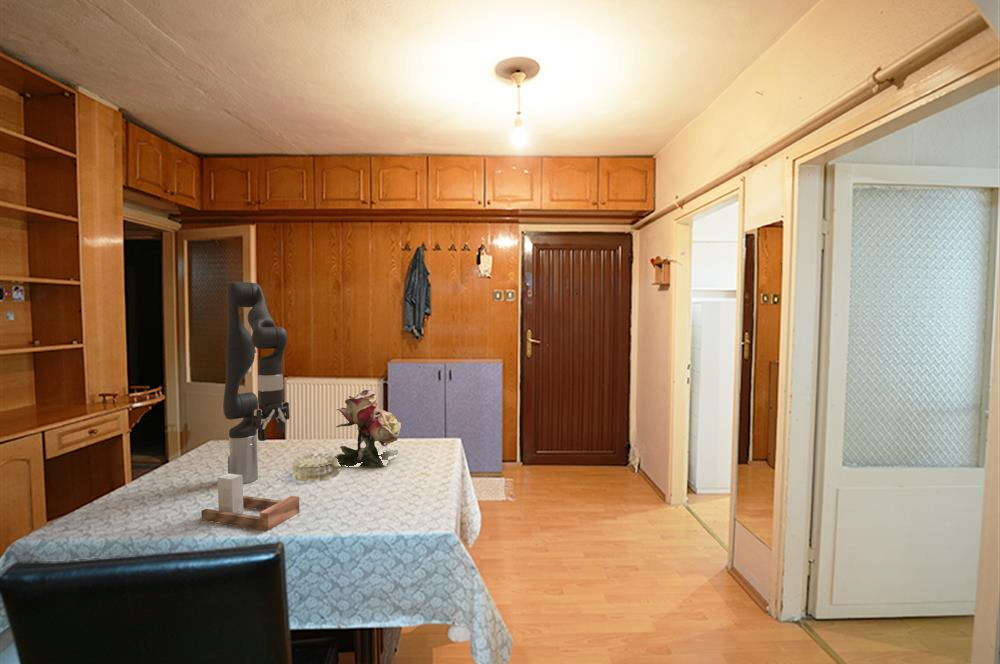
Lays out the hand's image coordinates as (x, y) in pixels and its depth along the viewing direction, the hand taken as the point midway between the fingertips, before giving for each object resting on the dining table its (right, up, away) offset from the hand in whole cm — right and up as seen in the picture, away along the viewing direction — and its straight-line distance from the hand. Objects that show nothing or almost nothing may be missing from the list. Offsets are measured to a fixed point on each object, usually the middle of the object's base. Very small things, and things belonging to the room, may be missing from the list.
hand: (271, 437), depth 152 cm
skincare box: (-10, -23, -5) cm, 26 cm away
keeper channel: (-3, -23, -7) cm, 24 cm away
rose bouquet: (+18, -21, +51) cm, 58 cm away
